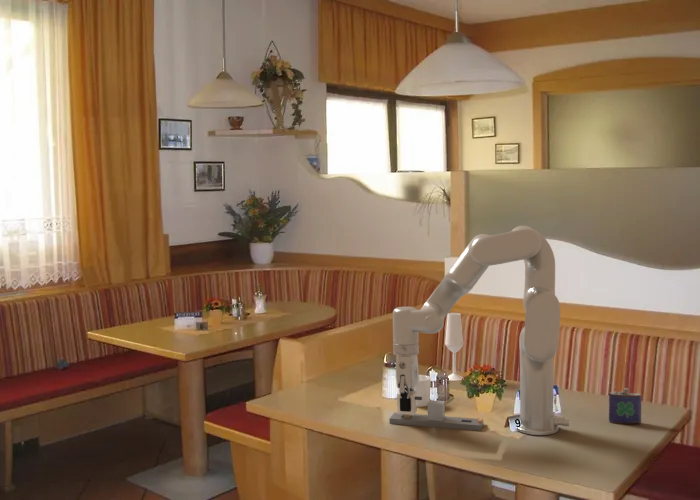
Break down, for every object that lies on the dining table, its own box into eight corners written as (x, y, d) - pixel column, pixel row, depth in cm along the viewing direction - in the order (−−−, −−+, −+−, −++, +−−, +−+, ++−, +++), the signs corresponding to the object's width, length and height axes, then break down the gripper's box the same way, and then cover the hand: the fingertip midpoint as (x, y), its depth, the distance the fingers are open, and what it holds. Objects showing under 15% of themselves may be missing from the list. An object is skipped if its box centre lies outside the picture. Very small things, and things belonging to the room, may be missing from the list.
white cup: (429, 412, 250) (429, 381, 249) (404, 411, 252) (404, 380, 251) (431, 405, 258) (431, 375, 257) (407, 404, 260) (407, 374, 259)
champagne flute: (452, 381, 286) (452, 316, 284) (441, 377, 292) (441, 313, 289) (467, 379, 289) (467, 314, 287) (456, 375, 295) (456, 311, 293)
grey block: (444, 422, 235) (444, 401, 234) (442, 426, 231) (442, 404, 231) (430, 421, 236) (429, 400, 236) (427, 425, 233) (427, 403, 232)
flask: (640, 422, 237) (641, 387, 236) (642, 425, 234) (642, 389, 233) (608, 420, 239) (608, 386, 238) (609, 423, 236) (609, 388, 235)
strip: (483, 429, 233) (483, 416, 232) (480, 435, 227) (480, 422, 227) (394, 422, 241) (394, 410, 240) (389, 428, 235) (389, 415, 235)
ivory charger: (423, 416, 237) (423, 391, 236) (420, 420, 233) (420, 395, 232) (400, 414, 239) (400, 390, 238) (397, 418, 235) (397, 394, 234)
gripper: (412, 355, 225) (413, 418, 227) (424, 343, 241) (425, 401, 243) (386, 354, 228) (388, 416, 229) (400, 342, 243) (401, 400, 245)
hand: (407, 408), depth 236 cm, fingers closed on ivory charger, 4 cm apart
